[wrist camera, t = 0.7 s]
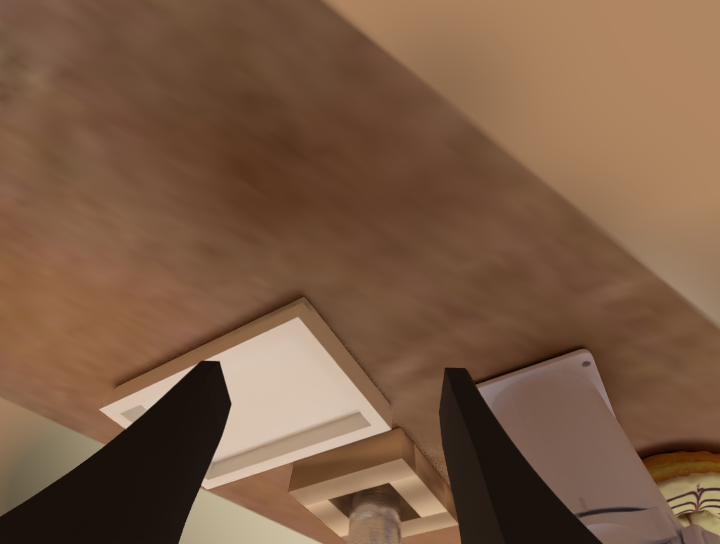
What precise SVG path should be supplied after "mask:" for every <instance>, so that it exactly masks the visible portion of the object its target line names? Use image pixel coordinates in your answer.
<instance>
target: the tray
mask: <svg viewBox="0 0 720 544" xmlns="http://www.w3.org/2000/svg"><path fill="white" fill-rule="evenodd" d="M201 360H202V361H220V364H221V368H222V371H223V375H224V378H225V382H226V385H227V389H228V393H229V396H230V400H231V403H232V405H231V409H230V412H229V416H228V419H227V423H226V426H225V429H224V432H223V435H222V438H221V440H220V443H219V445H218V447H217V450H216V452H215V454H214V457H213V459H212V461H211V464H210V466H209V468H208V470H207V473H206V475H205V477H204V480H203V482H202V484H201V485H202V486H203V487H204V488H206V489H210V488H214V487H217V486H220V485H223V484H226V483H229V482H232V481H235V480H238V479H241V478H244V477H247V476H250V475H254V474H257V473H260V472H263V471H266V470H269V469H272V468H275V467H278V466H281V465H284V464H287V463H291V462H294V461H297V460H300V459H303V458H306V457H309V456H312V455H315V454H318V453H321V452H324V451H327V450H331V449H334V448H337V447H340V446H343V445H346V444H349V443H352V442H355V441H358V440H361V439H364V438H367V437H371V436H374V435H377V434H380V433H383V432H386V431H389V430H392V427H391V405H390V404H389V402H388V401H387V400H386V399H385V397H384V396H383V395H382V394H381V392H380V391H379V390H378V389H377V387H376V386H375V385H374V384H373V382H372V381H371V380H370V378H369V377H368V376H367V375H366V373H365V372H364V371H363V370H362V368H361V367H360V366H359V365H358V363H357V362H356V361H355V360H354V358H353V357H352V356H351V354H350V353H349V352H348V351H347V349H346V348H345V347H344V346H343V344H342V343H341V342H340V341H339V339H338V338H337V337H336V336H335V334H334V333H333V332H332V330H331V329H330V328H329V327H328V325H327V324H326V323H325V322H324V320H323V319H322V318H321V317H320V315H319V314H318V313H317V312H316V310H315V309H314V308H313V306H312V305H311V304H310V303H309V301H308V300H307V299H306V298H305V296H304V297H302V298H300V299H298V300H296V301H294V302H292V303H289V304H287V305H285V306H283V307H281V308H279V309H277V310H275V311H273V312H271V313H269V314H267V315H265V316H262V317H260V318H258V319H256V320H254V321H252V322H250V323H248V324H246V325H244V326H242V327H240V328H238V329H236V330H233V331H231V332H229V333H227V334H225V335H223V336H221V337H219V338H217V339H215V340H213V341H211V342H209V343H207V344H204V345H202V346H200V347H198V348H196V349H194V350H192V351H190V352H188V353H186V354H184V355H182V356H180V357H178V358H175V359H173V360H171V361H169V362H167V363H165V364H163V365H161V366H159V367H157V368H155V369H153V370H151V371H149V372H146V373H144V374H142V375H140V376H138V377H136V378H134V379H132V380H130V381H128V382H126V383H124V384H122V385H120V386H117V387H116V388H115V389H114V391H113V392H112V393H111V395H110V396H109V397H108V399H107V400H106V401H105V402H104V404H103V405H102V406H101V408H100V409H99V410H100V411H102V412H103V413H105V414H106V415H107V416H109V417H110V418H111V419H113V420H114V421H115V422H117V423H118V424H119V425H121V426H122V427H123V428H125V429H126V428H127V427H129V426H130V425H131V424H132V423H133V422H134V421H136V420H137V419H138V418H139V417H140V416H142V415H143V414H144V413H145V412H146V411H147V410H148V409H149V408H150V407H152V406H153V405H154V404H155V403H156V402H157V401H158V400H159V399H160V398H161V397H163V396H164V395H165V394H166V393H167V392H168V391H169V390H170V389H171V388H172V387H173V386H174V385H175V384H177V383H178V382H179V381H180V380H181V379H182V378H183V377H184V376H185V375H186V374H187V373H188V372H189V371H190V370H192V369H193V368H194V367H195V366H196V365H197V364H198V363H199V362H200V361H201Z"/></svg>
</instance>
